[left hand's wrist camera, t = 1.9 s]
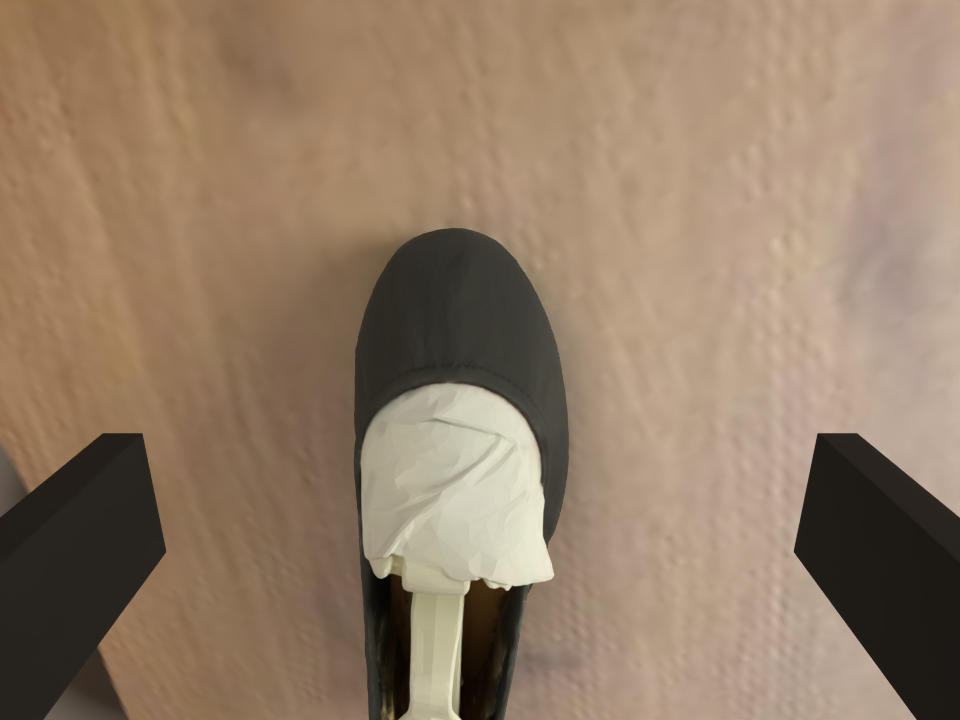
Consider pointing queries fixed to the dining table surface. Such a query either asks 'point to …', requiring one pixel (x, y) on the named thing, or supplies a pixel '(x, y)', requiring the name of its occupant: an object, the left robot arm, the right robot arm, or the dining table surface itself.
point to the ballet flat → (453, 473)
